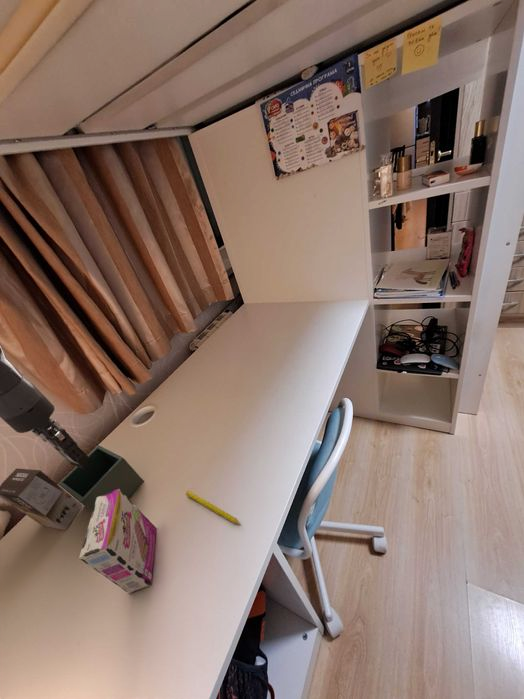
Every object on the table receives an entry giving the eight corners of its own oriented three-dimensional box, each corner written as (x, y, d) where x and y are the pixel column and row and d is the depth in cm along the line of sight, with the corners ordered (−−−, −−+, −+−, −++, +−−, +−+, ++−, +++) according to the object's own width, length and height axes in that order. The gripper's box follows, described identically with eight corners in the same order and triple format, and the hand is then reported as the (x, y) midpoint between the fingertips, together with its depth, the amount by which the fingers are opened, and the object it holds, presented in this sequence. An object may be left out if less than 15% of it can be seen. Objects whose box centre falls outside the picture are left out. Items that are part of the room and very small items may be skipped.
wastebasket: (83, 505, 75) (57, 483, 69) (119, 467, 83) (98, 445, 77) (108, 524, 69) (81, 501, 63) (144, 481, 76) (123, 457, 71)
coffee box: (83, 504, 76) (41, 469, 67) (65, 530, 71) (17, 496, 62) (59, 501, 79) (16, 467, 70) (40, 526, 74) (-9, 493, 65)
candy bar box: (153, 585, 56) (106, 548, 47) (129, 595, 55) (76, 560, 46) (158, 526, 65) (119, 487, 56) (137, 534, 65) (94, 496, 56)
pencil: (186, 496, 69) (185, 493, 69) (189, 492, 70) (188, 490, 69) (240, 527, 60) (238, 525, 59) (242, 523, 60) (241, 520, 60)
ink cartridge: (72, 465, 69) (50, 444, 64) (80, 457, 70) (58, 436, 66) (84, 469, 66) (62, 448, 62) (92, 461, 68) (71, 439, 64)
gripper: (-12, 410, 59) (44, 459, 68) (14, 426, 51) (73, 479, 60) (25, 385, 64) (73, 434, 73) (54, 396, 56) (103, 450, 65)
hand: (73, 454), depth 66 cm, fingers closed on ink cartridge, 5 cm apart
